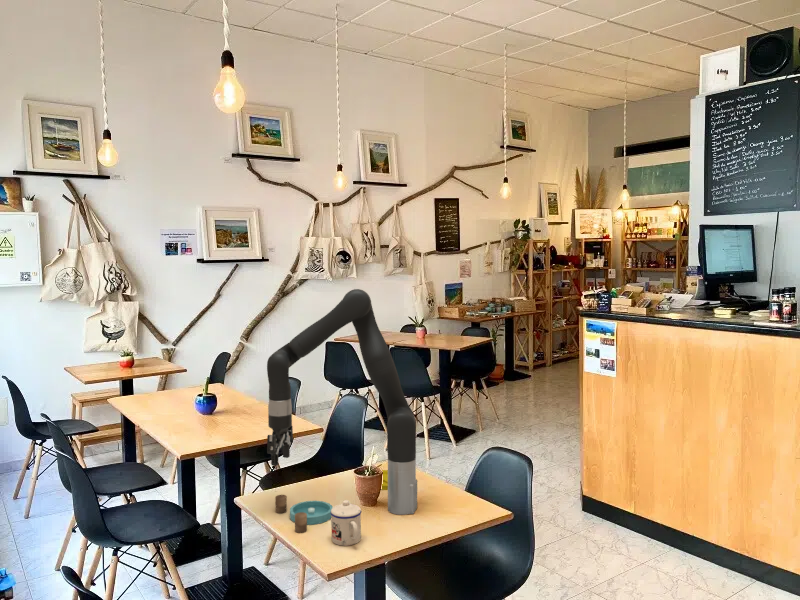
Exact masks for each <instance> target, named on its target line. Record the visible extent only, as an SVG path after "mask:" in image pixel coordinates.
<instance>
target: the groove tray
mask: <svg viewBox="0 0 800 600" xmlns="http://www.w3.org/2000/svg"><path fill="white" fill-rule="evenodd" d="M333 507H334V506H333V505H332V504H331V503H330V502H326V501H323V500H305V501H301V502H300V501H299V502H298V503H295V504H293V505H292V506H291V507H290V508H289V519H290V521H291V522H293V523H295V514H296V513H300V512H304V513H306V514H307V526H314V525H319V524H324V523H326V522H328V521H330V520H331V509H332V508H333Z"/></svg>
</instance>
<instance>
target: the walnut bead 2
mask: <svg viewBox="0 0 800 600" xmlns="http://www.w3.org/2000/svg"><path fill="white" fill-rule="evenodd" d="M307 526H308V525H307V514H306V513H304V512H300V513H296V514H295V522H294V532H295V533H296V534H304V533H306V532H308V527H307Z"/></svg>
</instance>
